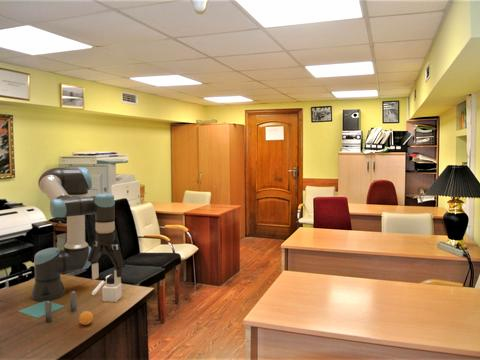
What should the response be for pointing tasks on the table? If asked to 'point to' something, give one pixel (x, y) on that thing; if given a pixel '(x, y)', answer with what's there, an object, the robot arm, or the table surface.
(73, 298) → the post
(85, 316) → the ball
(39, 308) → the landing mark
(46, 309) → the post
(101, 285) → the marker
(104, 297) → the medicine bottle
